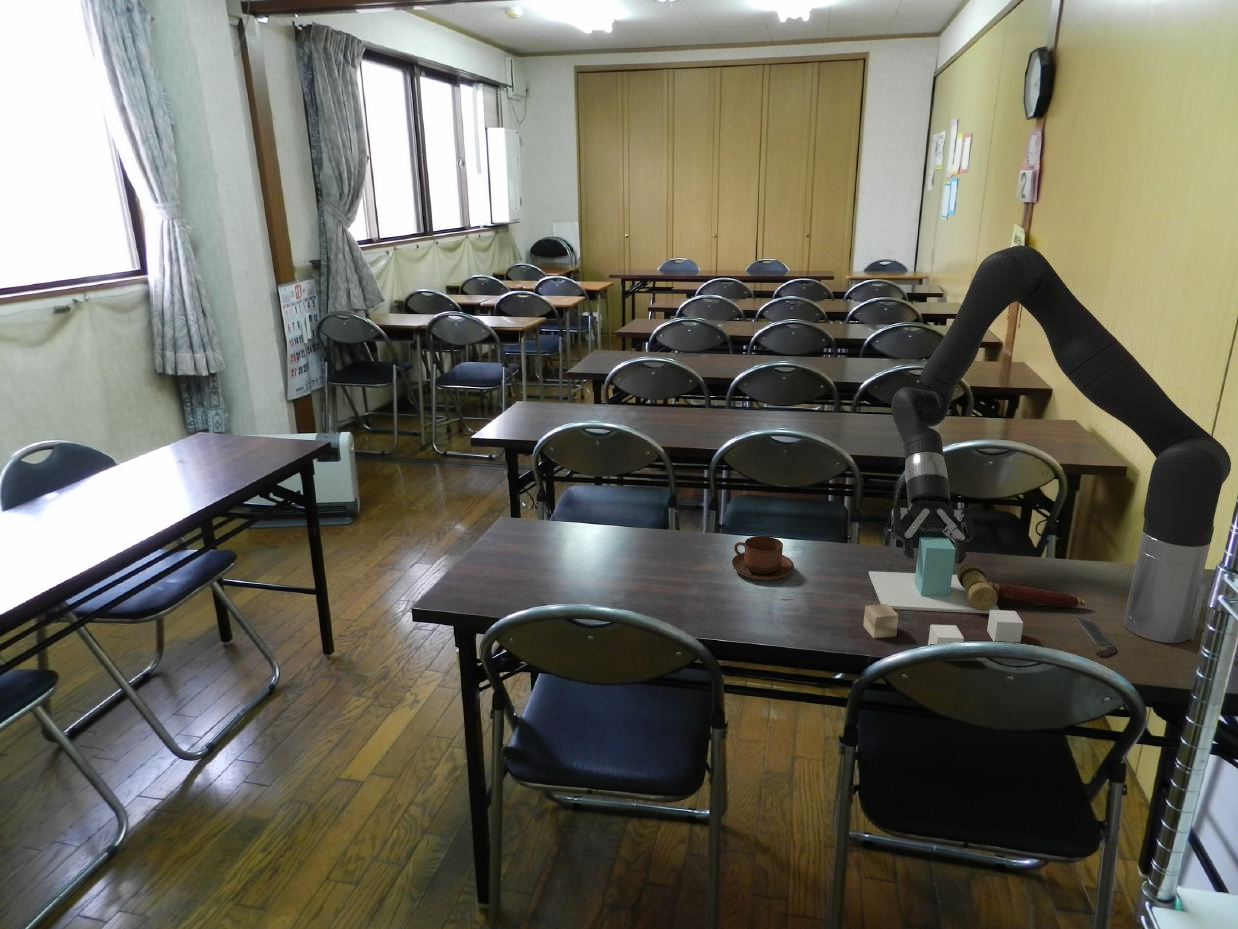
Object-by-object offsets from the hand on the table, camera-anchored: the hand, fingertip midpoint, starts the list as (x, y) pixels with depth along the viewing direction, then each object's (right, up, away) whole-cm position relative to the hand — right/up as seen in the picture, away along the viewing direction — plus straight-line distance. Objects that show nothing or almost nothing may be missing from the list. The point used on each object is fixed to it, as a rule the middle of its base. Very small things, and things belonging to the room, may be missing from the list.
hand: (935, 561), depth 146 cm
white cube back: (-5, -13, -17) cm, 22 cm away
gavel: (+15, -7, -2) cm, 17 cm away
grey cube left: (+6, -11, -12) cm, 18 cm away
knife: (+22, -12, -12) cm, 27 cm away
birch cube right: (-13, -11, -10) cm, 20 cm away
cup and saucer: (-29, -4, +12) cm, 32 cm away
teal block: (0, -6, +2) cm, 6 cm away
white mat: (0, -6, +3) cm, 7 cm away
